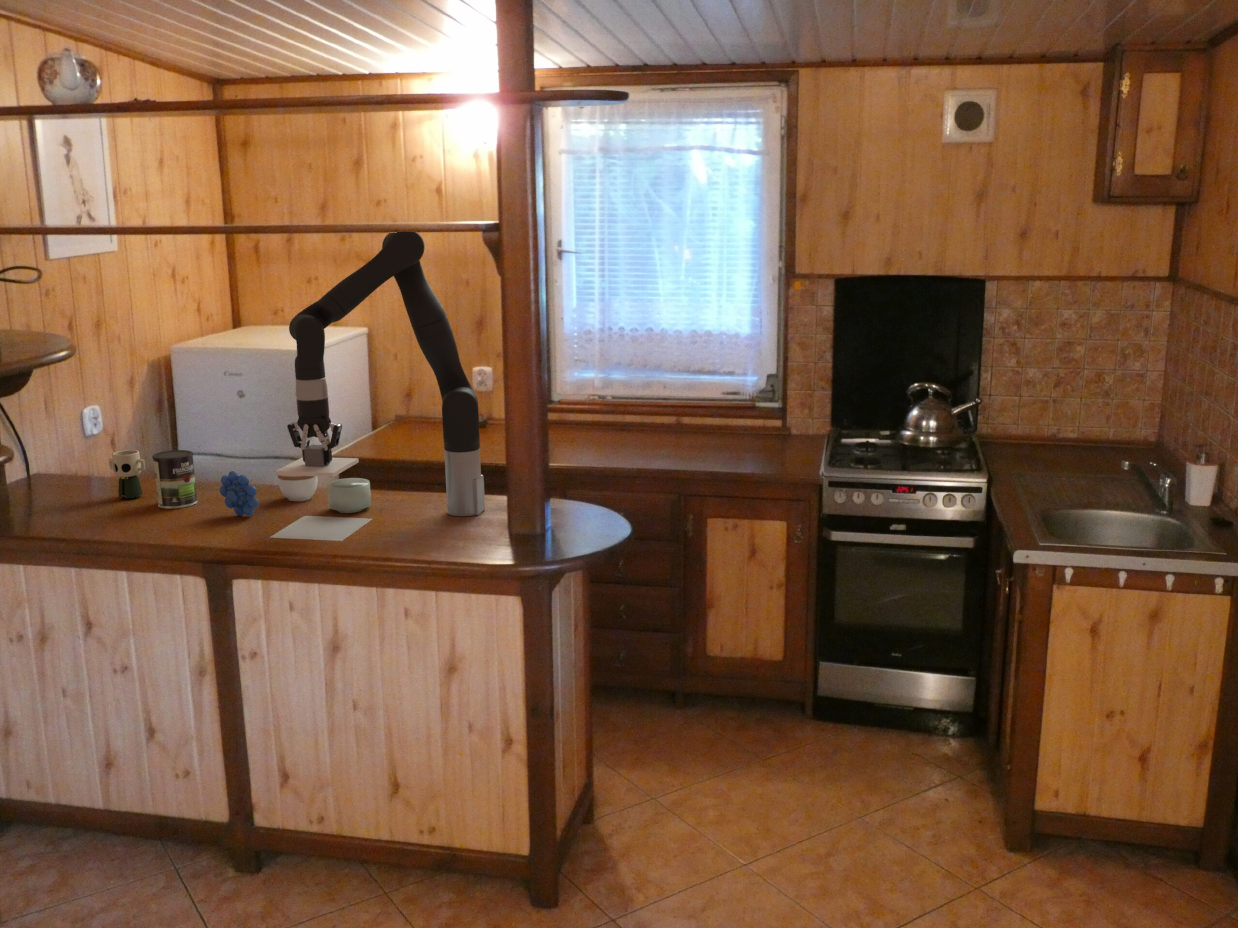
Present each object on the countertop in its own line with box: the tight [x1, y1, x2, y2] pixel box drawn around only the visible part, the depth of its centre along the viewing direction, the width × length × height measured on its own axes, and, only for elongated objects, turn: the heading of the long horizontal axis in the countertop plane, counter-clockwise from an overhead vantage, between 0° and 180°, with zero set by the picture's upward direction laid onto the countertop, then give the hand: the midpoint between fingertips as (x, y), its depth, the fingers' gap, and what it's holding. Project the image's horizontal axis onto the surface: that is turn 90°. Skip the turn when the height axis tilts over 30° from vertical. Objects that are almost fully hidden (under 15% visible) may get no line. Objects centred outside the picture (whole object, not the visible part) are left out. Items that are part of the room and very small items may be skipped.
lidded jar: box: [277, 475, 319, 502], centre depth 310 cm, size 11×11×9 cm
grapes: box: [219, 470, 259, 517], centre depth 293 cm, size 12×7×12 cm, turn 70°
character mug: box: [108, 449, 146, 500], centre depth 312 cm, size 11×7×13 cm, turn 79°
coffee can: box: [151, 449, 199, 510], centre depth 305 cm, size 10×10×14 cm
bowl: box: [326, 477, 372, 514], centre depth 298 cm, size 11×11×8 cm
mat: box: [269, 515, 373, 542], centre depth 282 cm, size 19×19×1 cm
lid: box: [275, 444, 360, 478], centre depth 278 cm, size 15×15×6 cm
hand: (317, 463), depth 278 cm, fingers closed on lid, 4 cm apart
